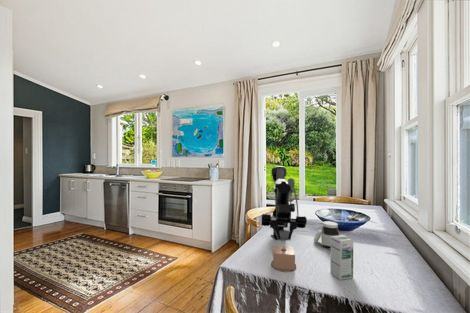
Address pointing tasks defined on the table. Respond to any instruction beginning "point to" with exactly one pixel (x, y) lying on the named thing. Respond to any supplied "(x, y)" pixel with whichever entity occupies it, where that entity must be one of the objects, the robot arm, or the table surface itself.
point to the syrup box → (341, 257)
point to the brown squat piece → (283, 259)
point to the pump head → (283, 237)
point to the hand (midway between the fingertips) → (284, 239)
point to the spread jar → (327, 233)
